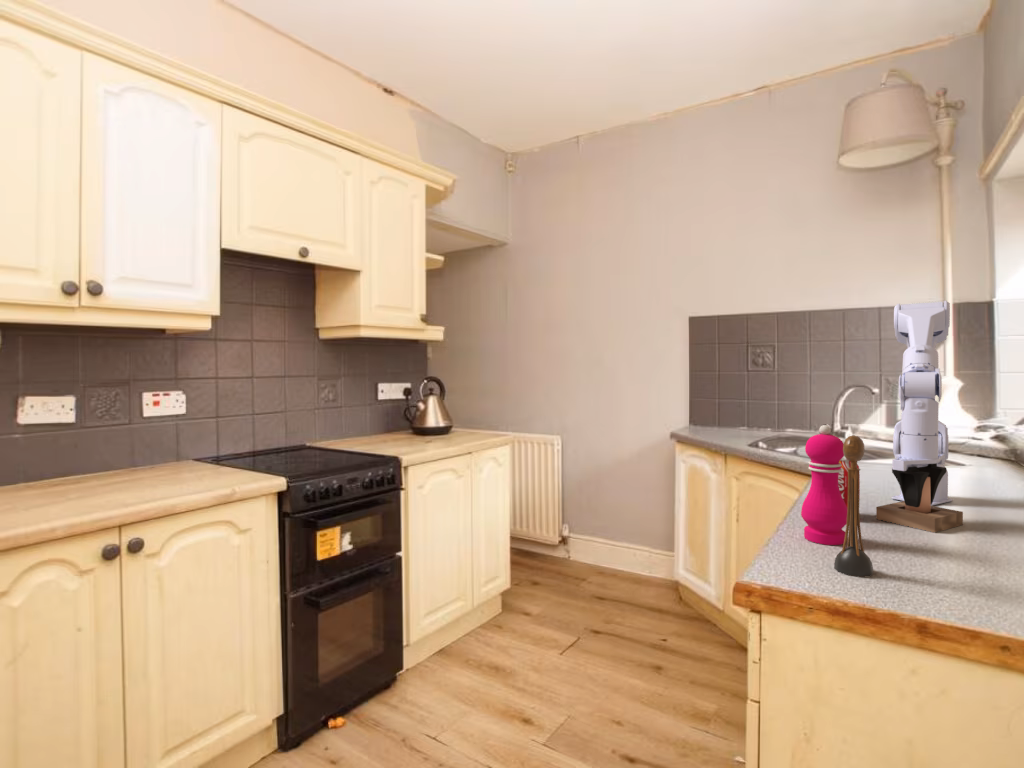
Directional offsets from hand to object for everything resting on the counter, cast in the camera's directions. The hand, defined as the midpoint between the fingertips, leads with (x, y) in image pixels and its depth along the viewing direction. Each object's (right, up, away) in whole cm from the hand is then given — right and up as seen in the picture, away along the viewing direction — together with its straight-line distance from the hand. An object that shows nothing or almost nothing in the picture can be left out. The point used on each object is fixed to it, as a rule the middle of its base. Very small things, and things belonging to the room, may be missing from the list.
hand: (918, 504), depth 105 cm
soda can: (-13, -4, +5) cm, 14 cm away
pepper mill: (-24, -4, -10) cm, 26 cm away
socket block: (0, -3, 0) cm, 3 cm away
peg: (0, -3, 0) cm, 3 cm away
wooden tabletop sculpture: (-28, -5, -25) cm, 37 cm away
